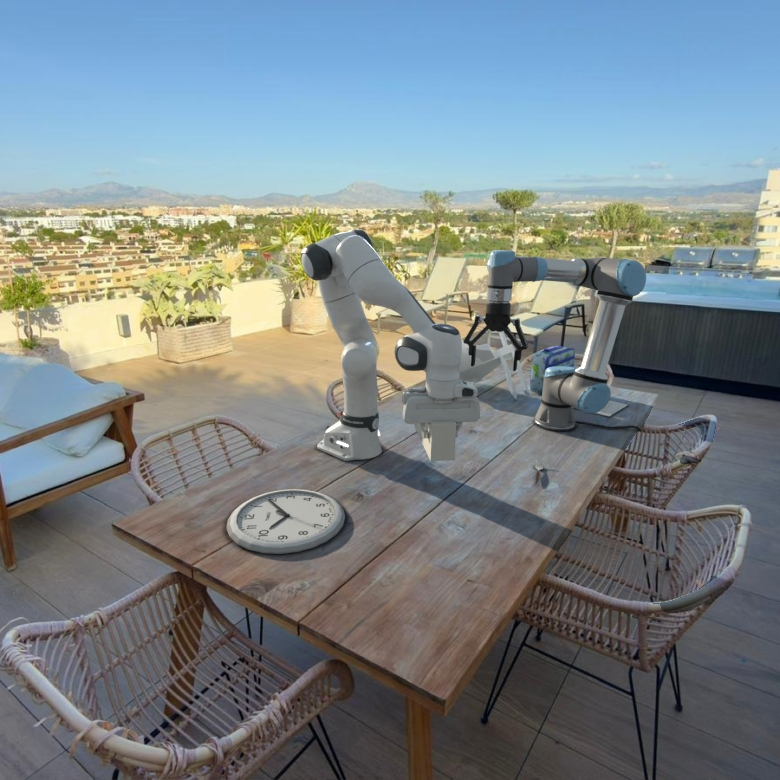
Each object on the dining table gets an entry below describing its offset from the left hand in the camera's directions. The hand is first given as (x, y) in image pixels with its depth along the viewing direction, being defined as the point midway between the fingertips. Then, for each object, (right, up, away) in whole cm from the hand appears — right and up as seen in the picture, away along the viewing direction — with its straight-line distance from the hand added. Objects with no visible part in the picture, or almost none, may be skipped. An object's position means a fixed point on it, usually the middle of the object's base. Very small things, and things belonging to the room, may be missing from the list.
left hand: (440, 437), depth 139 cm
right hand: (+20, +20, +30) cm, 41 cm away
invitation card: (+78, +5, +87) cm, 117 cm away
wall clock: (-40, -21, -4) cm, 45 cm away
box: (-1, -2, +9) cm, 10 cm away
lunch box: (+63, +12, +108) cm, 125 cm away
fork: (+33, -14, +24) cm, 43 cm away
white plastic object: (+28, +11, +104) cm, 109 cm away
